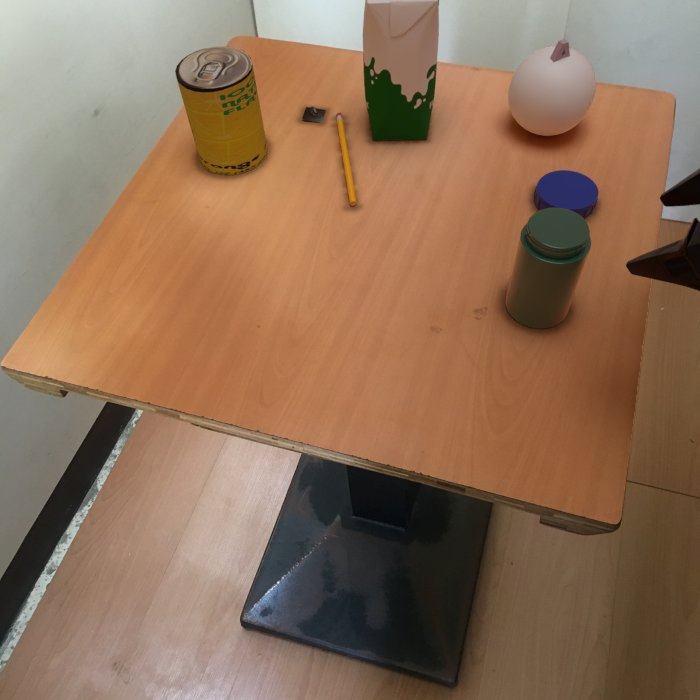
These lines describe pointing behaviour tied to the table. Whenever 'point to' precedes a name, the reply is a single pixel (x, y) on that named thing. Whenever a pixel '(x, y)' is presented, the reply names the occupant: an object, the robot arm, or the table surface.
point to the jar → (547, 267)
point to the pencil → (346, 160)
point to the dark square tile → (313, 114)
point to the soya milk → (400, 66)
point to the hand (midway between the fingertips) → (646, 233)
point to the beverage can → (223, 109)
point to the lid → (566, 192)
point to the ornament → (552, 90)
